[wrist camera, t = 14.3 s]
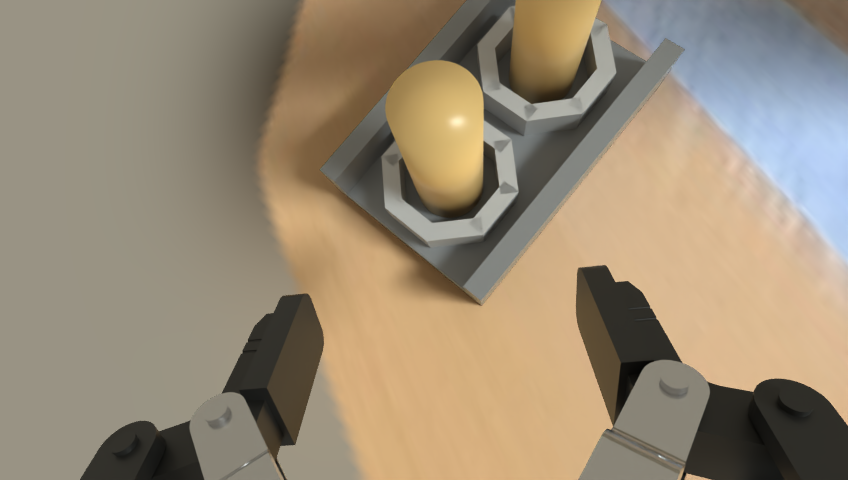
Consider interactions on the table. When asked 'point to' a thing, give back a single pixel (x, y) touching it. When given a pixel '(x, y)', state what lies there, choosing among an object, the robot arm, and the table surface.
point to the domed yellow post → (440, 134)
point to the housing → (508, 131)
